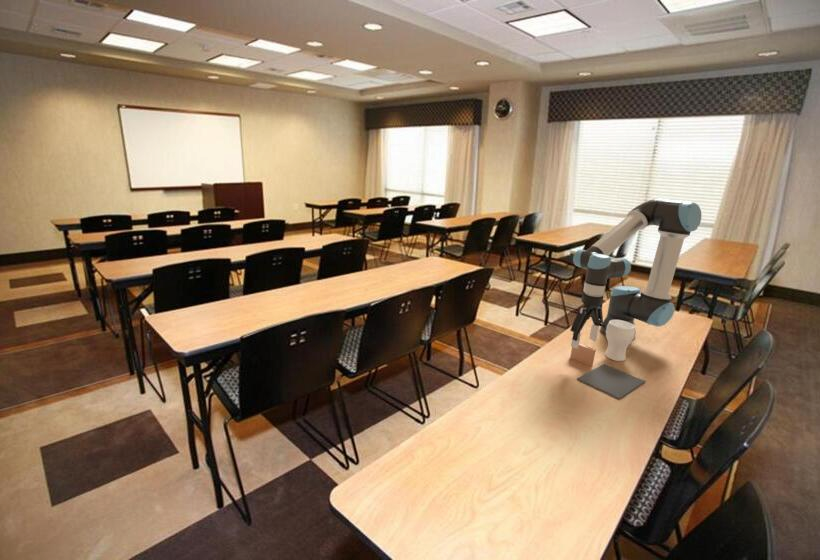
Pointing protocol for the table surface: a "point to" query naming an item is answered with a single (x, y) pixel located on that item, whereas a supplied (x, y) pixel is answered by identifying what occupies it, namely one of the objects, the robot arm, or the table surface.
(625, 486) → the table surface
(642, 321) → the robot arm
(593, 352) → the slab
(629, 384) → the mat
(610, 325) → the cup
